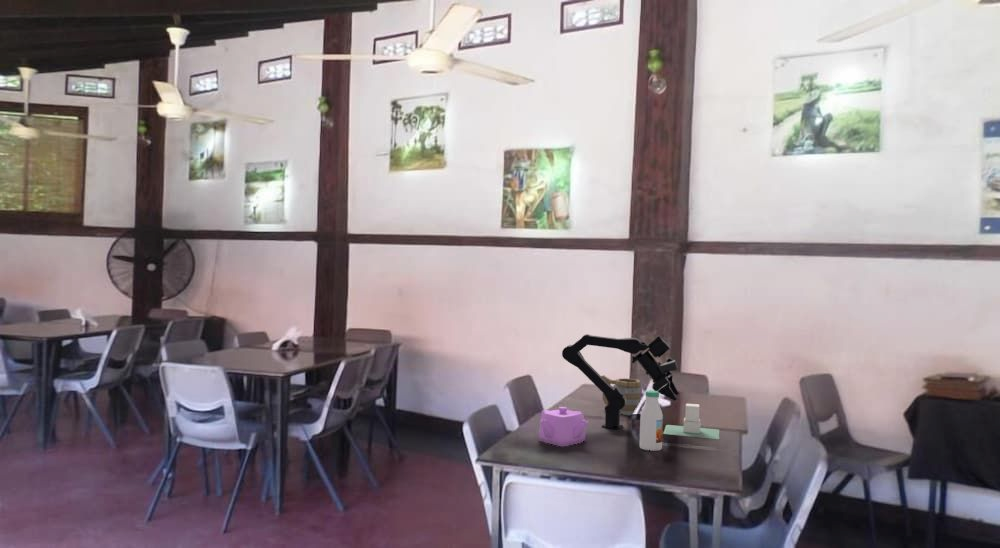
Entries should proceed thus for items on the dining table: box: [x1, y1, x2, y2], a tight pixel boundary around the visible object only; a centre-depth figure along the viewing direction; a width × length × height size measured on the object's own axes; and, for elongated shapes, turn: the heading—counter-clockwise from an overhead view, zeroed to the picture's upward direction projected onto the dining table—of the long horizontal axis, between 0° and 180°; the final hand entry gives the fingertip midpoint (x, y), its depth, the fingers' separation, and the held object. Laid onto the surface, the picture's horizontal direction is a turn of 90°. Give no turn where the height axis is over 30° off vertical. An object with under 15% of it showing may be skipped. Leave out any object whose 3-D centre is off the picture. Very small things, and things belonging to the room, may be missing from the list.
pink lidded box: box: [538, 406, 589, 446], centre depth 248 cm, size 17×17×12 cm
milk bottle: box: [639, 390, 664, 452], centre depth 241 cm, size 8×8×20 cm
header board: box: [662, 424, 720, 440], centre depth 263 cm, size 20×16×4 cm
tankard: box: [600, 375, 643, 416], centre depth 304 cm, size 20×13×15 cm, turn 58°
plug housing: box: [682, 403, 701, 433], centre depth 263 cm, size 6×5×10 cm
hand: (676, 397), depth 266 cm, fingers open, 9 cm apart
